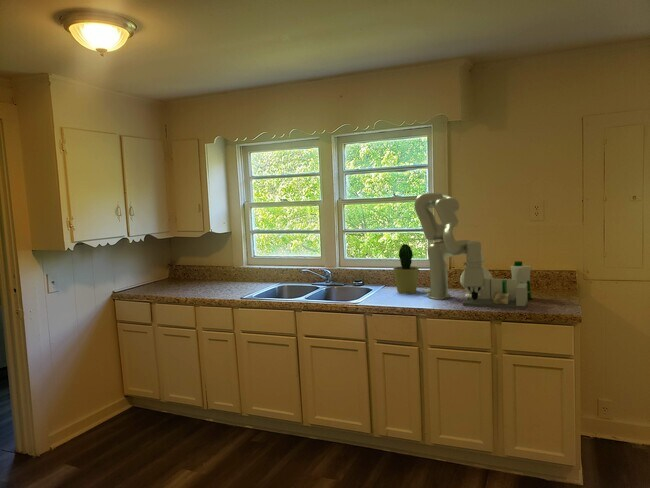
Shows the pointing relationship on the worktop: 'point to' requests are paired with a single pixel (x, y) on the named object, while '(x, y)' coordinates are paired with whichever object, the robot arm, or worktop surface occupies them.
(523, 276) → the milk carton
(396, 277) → the potted cactus
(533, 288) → the worktop surface
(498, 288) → the gauge frame
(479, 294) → the decorative vase
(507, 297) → the gauge slider
